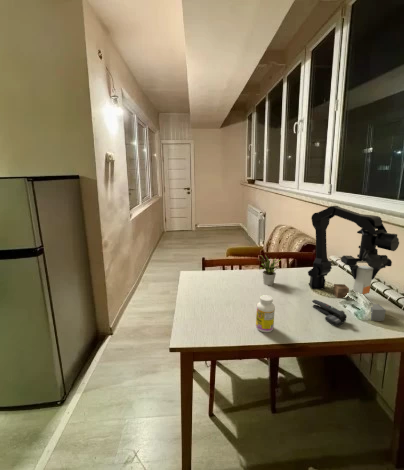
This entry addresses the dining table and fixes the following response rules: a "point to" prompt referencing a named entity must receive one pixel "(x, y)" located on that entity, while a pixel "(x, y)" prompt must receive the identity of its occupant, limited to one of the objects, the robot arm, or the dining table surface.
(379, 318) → the slate block
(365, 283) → the skincare box
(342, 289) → the walnut block
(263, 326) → the supplement bottle
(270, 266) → the house plant
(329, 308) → the can opener
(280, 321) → the dining table surface
